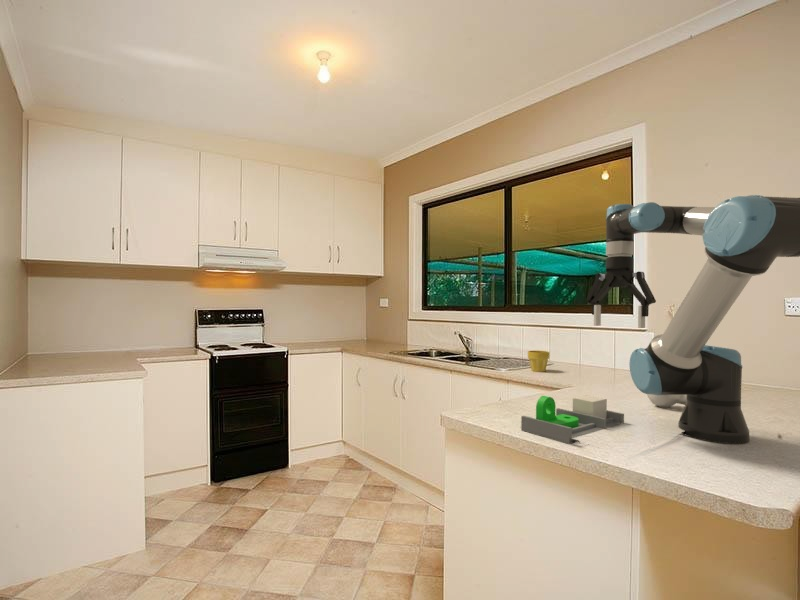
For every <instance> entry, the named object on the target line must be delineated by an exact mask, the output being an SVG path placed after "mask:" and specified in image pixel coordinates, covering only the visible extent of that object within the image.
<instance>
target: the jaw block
mask: <svg viewBox="0 0 800 600" xmlns="http://www.w3.org/2000/svg"><path fill="white" fill-rule="evenodd" d="M607 399H608V398H603V397H599V396H592V395H581V396H576V397H573V398H572V411H574V412H578V413H583V414H587V415H592V416H596V417H601V418H605V419H606V417H607V407H608V406H607V402H608V401H607Z"/></svg>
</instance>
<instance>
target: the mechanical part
mask: <svg viewBox="0 0 800 600" xmlns="http://www.w3.org/2000/svg"><path fill="white" fill-rule="evenodd" d="M535 407H536V408H535V419H539V420H543V421H547V422H551V423H555V424H559V425H563V426H567V427H571V428H575V427H579V419H578V418H577V417H574V416H570V415H565V414H561V415H556V409H557V408H556V402H555V399H554V398H553V397H551V396H546V395H541V396H540V397H539V398H538V400H537V401H536V406H535Z"/></svg>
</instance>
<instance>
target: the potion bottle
mask: <svg viewBox="0 0 800 600" xmlns="http://www.w3.org/2000/svg"><path fill="white" fill-rule="evenodd" d="M646 396H647V398H648V400H649V401H650V402H651V403H652V404H653V405H654V406H656V407H659V408H660V407H661V408H662V409H663V408H664V409H667V408H671V407H673V406H674V405H676V404H680V405H684V406H685V405H686V400H687V395H652V394H646Z"/></svg>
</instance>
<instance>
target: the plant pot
mask: <svg viewBox="0 0 800 600" xmlns="http://www.w3.org/2000/svg"><path fill="white" fill-rule="evenodd" d="M527 359H528V360H529V361H528V362H529V364H530V369H531V372H535V373H543V372H546V370H547V366H548V361H549V360H550V351H547V350H527Z"/></svg>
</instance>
